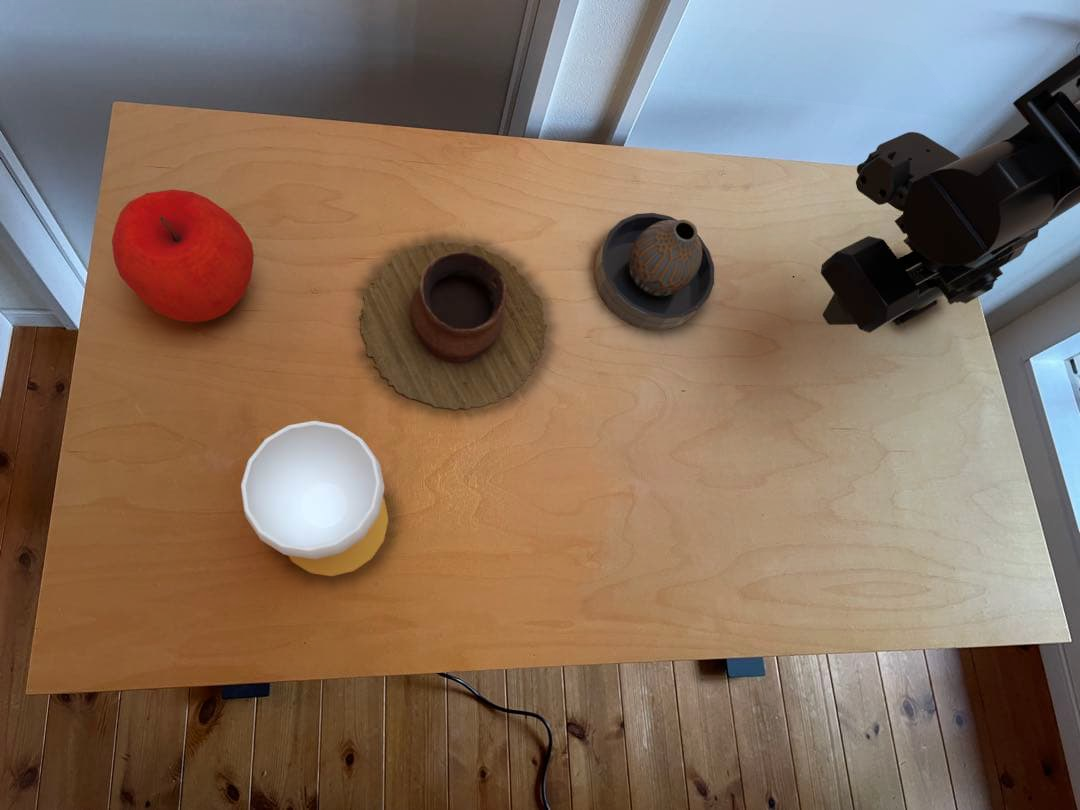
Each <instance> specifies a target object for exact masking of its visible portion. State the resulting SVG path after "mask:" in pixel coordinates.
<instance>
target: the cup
mask: <svg viewBox="0 0 1080 810" xmlns="http://www.w3.org/2000/svg"><path fill="white" fill-rule="evenodd" d="M385 489H386V487H385V482H384V477H383V472H382V467H381V463H380V461H379V460H378V458H377V457H376V455H375V454H374V453H373V451H372V450H371V448H370V447H369V446H368V444H367V442H365V441H364V439H363V438H362V437H360V436H358V435H357V434H355V433H354V432H352V431H350V430H348V429H347V428H345V427H344V426H342V425H340V424H335V423H330V422H324V421H319V420H310V421H304V422H300V423H294V424H288V425H286V426H285V427H283V428H281V429H280V430H278V431H276V432H274V433H273V434H271V435H269V436H267V437H265V439H264V440H262V442H261V443H260V445H259V446H258V447H257V449H256V450H255V451H254V452H253V454H251V456H250V457H249V458H248V460H247V463H246V466H245V470H244V473H243V477H242V480H241V483H240V490H241V498H242V503H243V511H244V515H245V518H246V520H247V521H248V523H249V524H250V526H251V527H252V529H253V530H254V532H255V534H256V535H257V537H258V538H259V540H260V541H262V542H263V543H264V544H266V545H268V546H269V547H271V548H273V549H274V550H276V551H277V552H279V553H281V554H282V555H284V556H287V557H288V558H289V560H290V561H291V562H292V563H293V564H295V565H297V566H298V567H300V568H301V569H302V570H304V571H307V572H308V573H309V574H314V575H321V576H327V577H335V576H339V575H344V574H348V573H352V572H355V571H357V570H358V569H359V568H360V567H362V566H364V565H365V564H366V563H368V562H369V561H372V559H373V558H374V556H375V555H376V553H377V552H378V550H379V549H380V547H381V546H382V545H383V543H384V541H385V539H386V533H387V528H388V526H389V525H388V524H389V515H388V510H387V505H386V501H385V500H386V499H385V498H384V495H385V494H384V493H385Z"/></svg>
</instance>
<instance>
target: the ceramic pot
mask: <svg viewBox="0 0 1080 810" xmlns="http://www.w3.org/2000/svg"><path fill="white" fill-rule="evenodd" d="M371 284H373V287H370V288H368V289H366V290H365V292H364V294H363V299H364V304H363V307H362V308H361V313H360V314H359V319H360V334H361V335H362V337H363V342H364V343H365V345H366V354H367V357H369V358H370V357H371V358H373V360H374V362H375V363H376V364H374V365H373V366H374V368H376V369H377V370H378V371H379V372H380V376H381V378H384V379H386V380H387V381H388V386H393V387H394V389H395V391H396V392H397V393H399V394H400V395H403V396H405V397H407V398H408V399H412V400H415V401H419V402H422V403H424V404H428V405H431V406H433V408H441V409H443V408H444V409H450V410H454V411H457V410H459V409H463V410H469V409H470V408H477V407H484V406H487V405H489V404H493V403H497V402H499V401H501V400H502V399H503V398H505V397H510V396H512V395H513V394H514V392H516V391H517V390H520V389H521V388H523V386H524V385H525V384H526V383H525V382H526V381H528V379H527V378H528V376H531V375H532V374H534V372H535V371H534V368H535V367H536V366H537V365H538V364H539V359H540V358H541V357H542V356H543V353H542V349H545V347H546V346H545V335H546V330H547V328H548V325H547V324H545V319H544V313H545V312H544V310H543V307H544V305H543V303H542V300H541V297H540V296H539V295H537V293H536V290H535V289H534V288H532V286H531V285H530V282H529V280H528V279H527V277H525V276H523V275H521V274H520V273H519V272H518V271H517V266H515V265H512V264H511V262H510V261H508V260H506V259H504V258H503V257H502V255H500V254H496V253H493V252H491V251H488V250H487V249H485V247H483V246H480V245H477V244H474V245H466V244H465V243H462V242H461V243H460V242H446V243H445V242H444V241H438V242H428V244H423V245H416V246H414V248H412V249H408V250H406V249H405V250H403V252H402V253H401V254H400V255H395V256H393V257H392V259H391V261H390V262H389V263H387V264H386V265H385V266H384V267H382V268H380V269H379V270H378V274H376V275H375V276H374V280H371Z"/></svg>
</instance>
